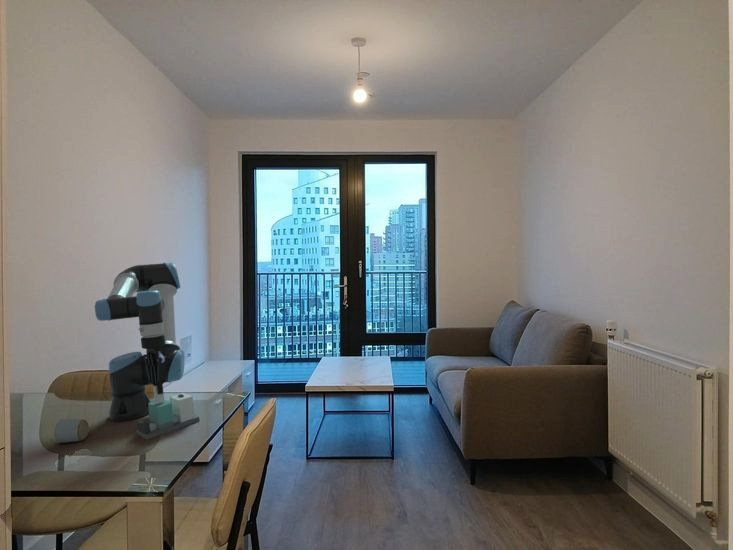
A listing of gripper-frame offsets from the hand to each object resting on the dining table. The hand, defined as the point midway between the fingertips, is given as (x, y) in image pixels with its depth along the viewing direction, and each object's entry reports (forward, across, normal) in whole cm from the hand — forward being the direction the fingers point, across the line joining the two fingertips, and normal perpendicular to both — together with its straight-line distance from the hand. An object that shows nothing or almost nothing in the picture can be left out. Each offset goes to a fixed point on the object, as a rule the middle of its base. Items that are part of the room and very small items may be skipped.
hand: (159, 402), depth 169 cm
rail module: (+8, -1, 0) cm, 8 cm away
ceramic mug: (+10, -20, -21) cm, 31 cm away
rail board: (+10, -1, +3) cm, 10 cm away
